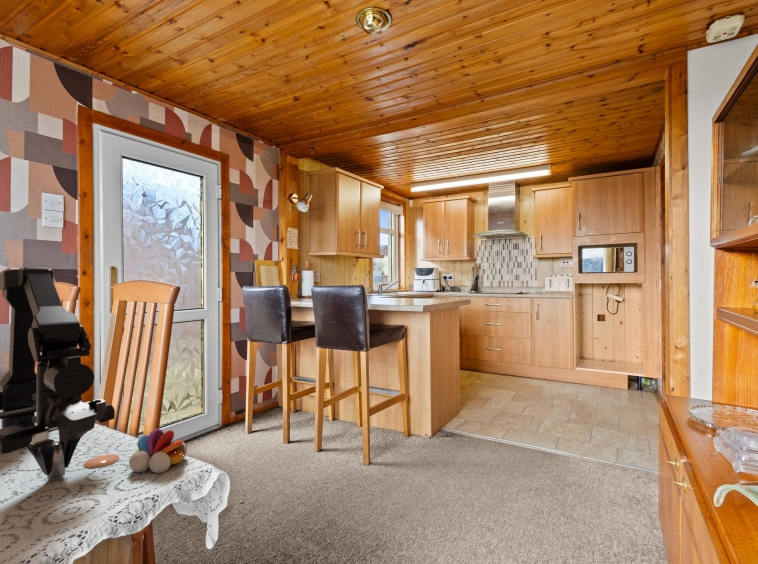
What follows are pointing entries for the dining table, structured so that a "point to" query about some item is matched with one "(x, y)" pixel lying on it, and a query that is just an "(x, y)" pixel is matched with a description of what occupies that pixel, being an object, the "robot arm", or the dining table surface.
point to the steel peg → (57, 460)
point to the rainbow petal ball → (157, 452)
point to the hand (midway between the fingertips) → (56, 471)
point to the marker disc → (101, 461)
